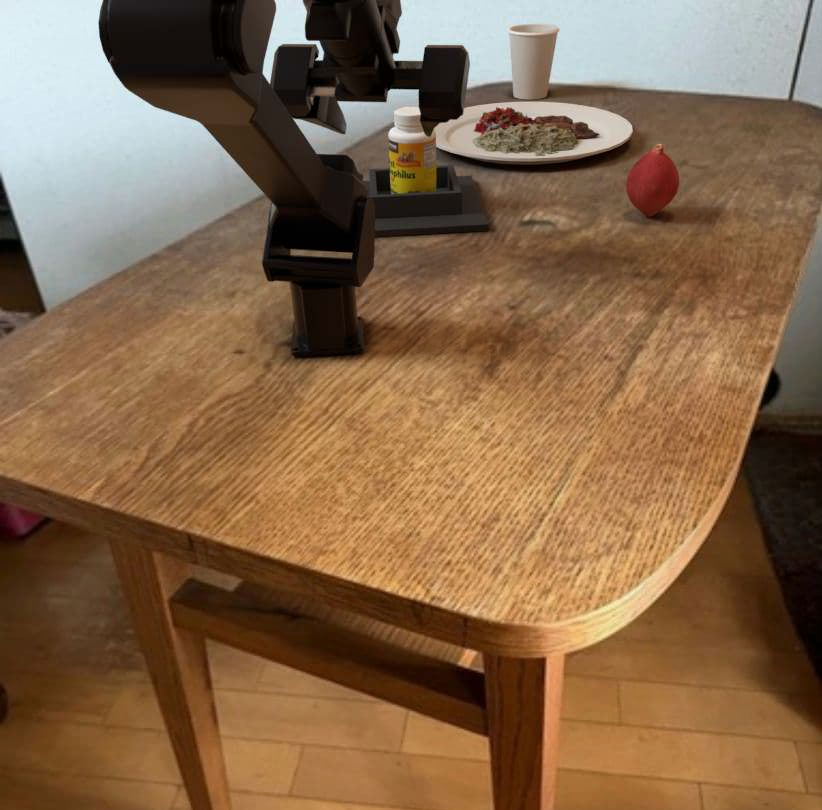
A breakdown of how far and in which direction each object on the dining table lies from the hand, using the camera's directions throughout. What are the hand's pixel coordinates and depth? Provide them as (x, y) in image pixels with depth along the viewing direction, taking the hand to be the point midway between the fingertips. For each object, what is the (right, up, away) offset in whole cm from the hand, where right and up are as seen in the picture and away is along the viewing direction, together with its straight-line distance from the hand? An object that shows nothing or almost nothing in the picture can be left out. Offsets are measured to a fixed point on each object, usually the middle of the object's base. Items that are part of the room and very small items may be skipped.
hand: (386, 131), depth 89 cm
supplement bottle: (+3, -2, +15) cm, 15 cm away
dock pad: (+3, -2, +15) cm, 16 cm away
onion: (+30, -5, +11) cm, 33 cm away
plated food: (+19, +16, +36) cm, 44 cm away
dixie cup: (+23, +33, +57) cm, 70 cm away
